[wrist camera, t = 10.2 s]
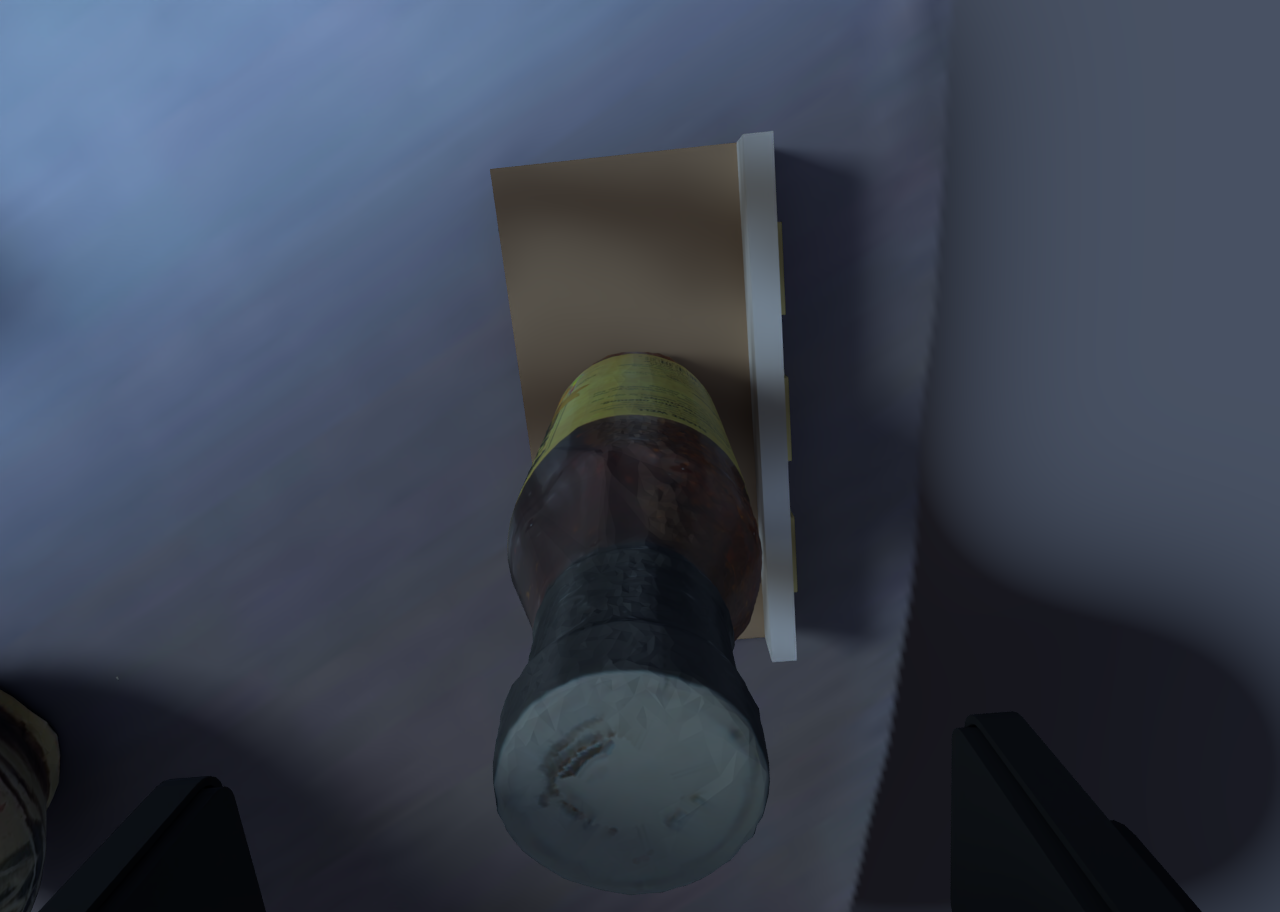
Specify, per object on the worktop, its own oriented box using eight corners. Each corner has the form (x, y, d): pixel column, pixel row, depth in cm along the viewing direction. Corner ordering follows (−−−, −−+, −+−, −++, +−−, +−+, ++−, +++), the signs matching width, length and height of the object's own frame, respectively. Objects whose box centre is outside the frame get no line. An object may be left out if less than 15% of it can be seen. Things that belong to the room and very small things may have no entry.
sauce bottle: (539, 370, 29) (314, 615, 10) (694, 326, 28) (782, 494, 9) (588, 521, 30) (480, 985, 11) (734, 482, 30) (882, 902, 11)
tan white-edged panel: (786, 617, 33) (801, 659, 30) (563, 635, 34) (553, 679, 30) (763, 144, 28) (779, 130, 24) (498, 173, 28) (477, 163, 25)
